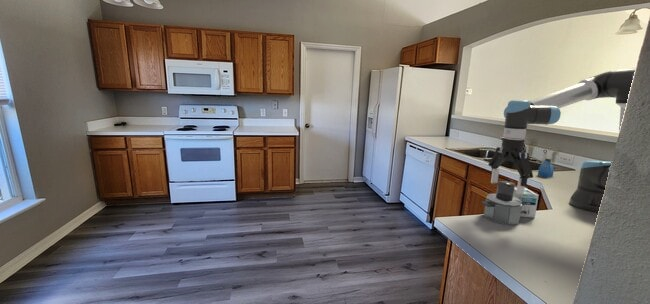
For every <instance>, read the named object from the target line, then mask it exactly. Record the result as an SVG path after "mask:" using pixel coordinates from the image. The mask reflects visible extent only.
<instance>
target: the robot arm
mask: <svg viewBox="0 0 650 304" xmlns="http://www.w3.org/2000/svg"><path fill="white" fill-rule="evenodd" d="M635 68H636V67H633V68H623V69H614V70H609V71H606V72H602V73H599V74H596V75H594V76H590V77H588V78H585V79H582V80H580V81H579V82H578V83H577V84H573V85H572V86H568V87H566V88H562V89H560V90H558V91H557V90H556V91H553V92H550V93H548V94H546V95H542V96H539V97H536V98H534V99H531V100H510V101H508V103H507V105H506V107H505V108H504V110H503V117H504V118H505V120H504V127H503V138H502V140H501V141H502V142H501V146H499V147H496V148H495V152H494V153H493V156H492V157H491V159H490V160H489V162H488V166H489V167H490V168H491V173H490V174H491V178H490V183H491V184H498V181H499V174H500V166H501V165H503V164H504V163H505V162H506V161H509V162H512V163H513V165H514V166H515V168H516V170H517V173H518V175H519V176H520V177H518V180H517V186H516V187H517V192H516V193H517V194H522V193H524V189H525V188H526V187H527V184H528V183H527V182H528V179H533V178H534V175H533V170H532V166H531V163H530V158H529V157H530V154H529V153H528V152H522V151H523V149H524V148H525V147H524V146H525V143H526V142H525V141H526V140H525V139H526V135H527V134H526V133H527V129H528V125H545V126H547V125H554V124H556V123H557V122H559V120H560V118H561V114H562V112H561V110H560V109H561V108H564V107H567V106H570V105H573V104H576V103H579V102H582V101H591V100H595V99H600V98H601V99H604V98H615V104H616V105H617V106H619V107H620V111H619V127H618V131H619V130H620V126H621V122H622V119H623V115H624V111H625V107H626V103H627V99H628V94H629V91H630V87H631V83H632V80H633V76H634V72H635ZM611 162H612V161H609V160H608V161H606V160H584V161H583V163H582V165H581V167H580V173H579V177H578V182H577V188H576V189H575V191H574V192H573V193H572V195H571V196H570V198H569V204H570V205H571V206H574V207H576V208H578V209H581V210H585V211H589V212H594V213H595V212H596V213H599V212H598V211H599V207H600V204H601V200H602V197H603V194H604V190H605V185H606V181H607V177H608V172H609V168H610V166H611Z"/></svg>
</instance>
